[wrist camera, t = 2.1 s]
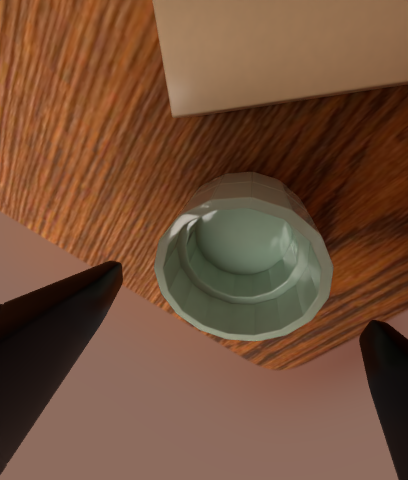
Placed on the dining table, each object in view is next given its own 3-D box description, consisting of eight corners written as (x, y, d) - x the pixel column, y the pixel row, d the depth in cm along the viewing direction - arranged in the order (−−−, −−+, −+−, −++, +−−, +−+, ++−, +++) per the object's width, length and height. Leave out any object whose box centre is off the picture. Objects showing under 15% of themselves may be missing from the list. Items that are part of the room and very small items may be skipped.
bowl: (302, 281, 14) (322, 346, 10) (192, 279, 15) (172, 335, 11) (312, 163, 11) (346, 190, 7) (173, 176, 12) (136, 205, 8)
